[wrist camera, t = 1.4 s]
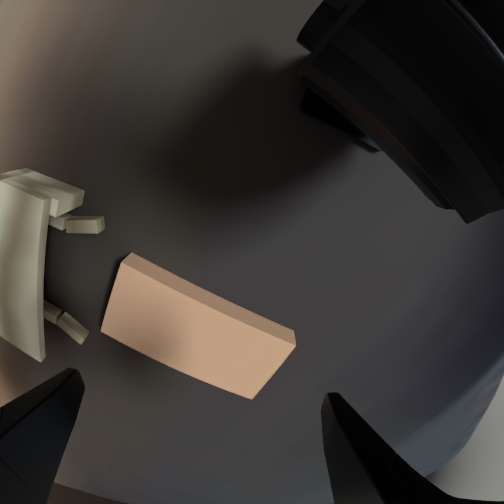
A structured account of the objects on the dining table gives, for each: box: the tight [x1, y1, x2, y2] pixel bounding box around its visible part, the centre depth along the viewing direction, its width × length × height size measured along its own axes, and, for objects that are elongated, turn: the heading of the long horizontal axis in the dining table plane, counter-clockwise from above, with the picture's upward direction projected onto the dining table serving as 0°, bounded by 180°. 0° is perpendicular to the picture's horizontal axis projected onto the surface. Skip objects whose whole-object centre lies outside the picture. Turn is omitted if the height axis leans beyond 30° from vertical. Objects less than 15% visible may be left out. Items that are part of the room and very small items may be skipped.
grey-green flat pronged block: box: [0, 168, 105, 362], centre depth 20 cm, size 9×15×4 cm, turn 158°
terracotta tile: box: [101, 252, 296, 399], centre depth 23 cm, size 14×7×2 cm, turn 62°
